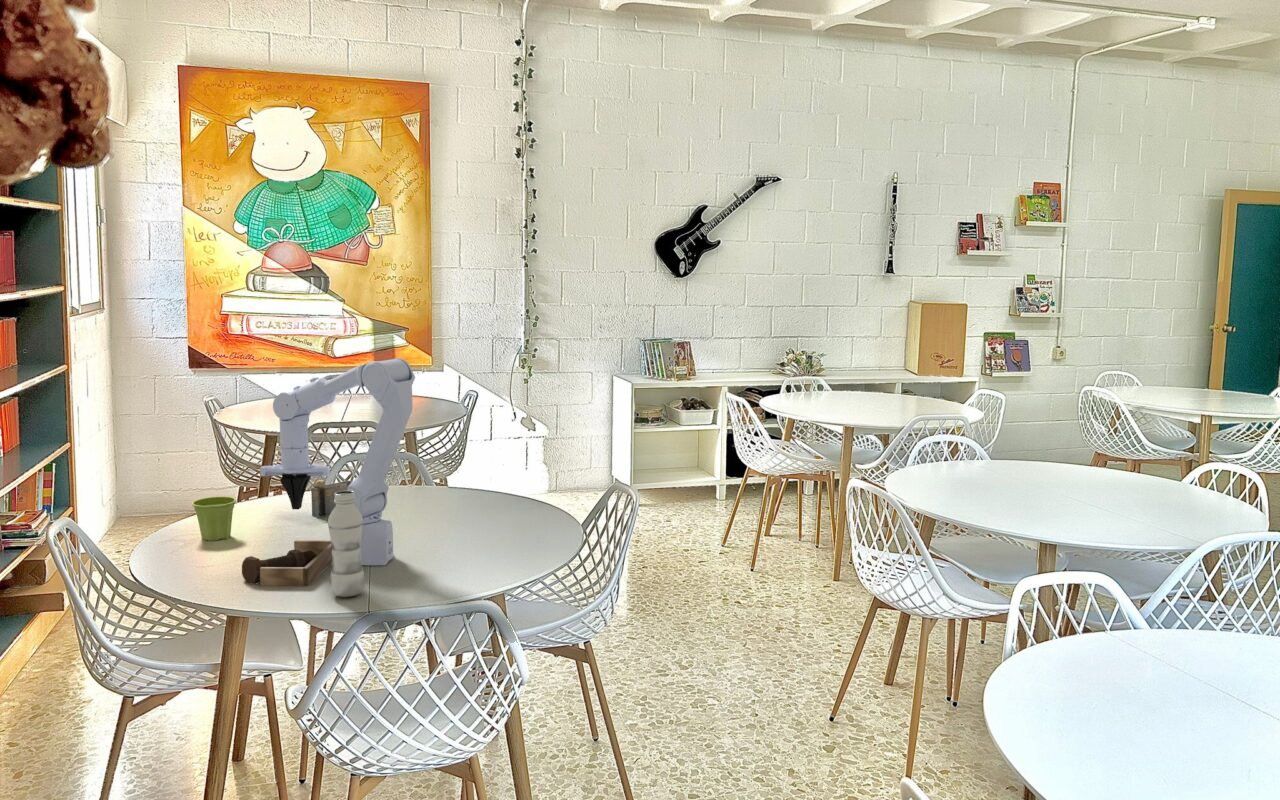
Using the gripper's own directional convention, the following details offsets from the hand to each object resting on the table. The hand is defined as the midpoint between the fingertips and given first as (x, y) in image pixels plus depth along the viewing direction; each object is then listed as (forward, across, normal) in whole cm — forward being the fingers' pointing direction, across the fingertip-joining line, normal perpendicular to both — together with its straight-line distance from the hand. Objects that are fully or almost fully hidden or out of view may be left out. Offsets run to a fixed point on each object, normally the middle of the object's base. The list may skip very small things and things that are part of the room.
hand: (296, 508), depth 218 cm
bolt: (+10, +2, -16) cm, 19 cm away
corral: (+10, +4, -13) cm, 17 cm away
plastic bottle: (+10, +19, -29) cm, 36 cm away
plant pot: (+10, -23, +12) cm, 28 cm away
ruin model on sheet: (+11, -3, +37) cm, 39 cm away
